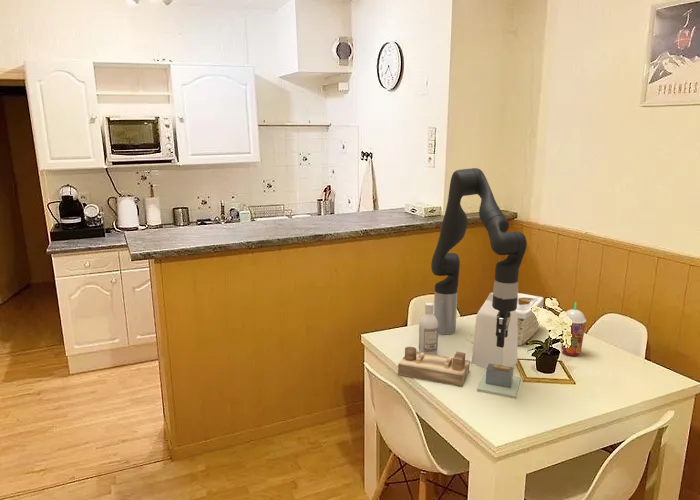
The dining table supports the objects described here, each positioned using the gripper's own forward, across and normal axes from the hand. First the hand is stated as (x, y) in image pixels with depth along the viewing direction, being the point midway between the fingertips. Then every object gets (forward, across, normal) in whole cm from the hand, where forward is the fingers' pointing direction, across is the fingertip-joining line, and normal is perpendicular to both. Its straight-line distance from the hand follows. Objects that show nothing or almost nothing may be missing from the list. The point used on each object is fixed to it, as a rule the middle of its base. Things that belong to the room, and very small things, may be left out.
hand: (502, 341), depth 167 cm
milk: (+16, -16, -4) cm, 22 cm away
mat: (+15, 0, 0) cm, 15 cm away
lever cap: (+14, 0, 0) cm, 14 cm away
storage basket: (+16, -47, -1) cm, 49 cm away
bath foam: (+16, -14, -28) cm, 35 cm away
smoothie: (+16, -36, +21) cm, 44 cm away
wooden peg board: (+15, 0, -22) cm, 27 cm away
